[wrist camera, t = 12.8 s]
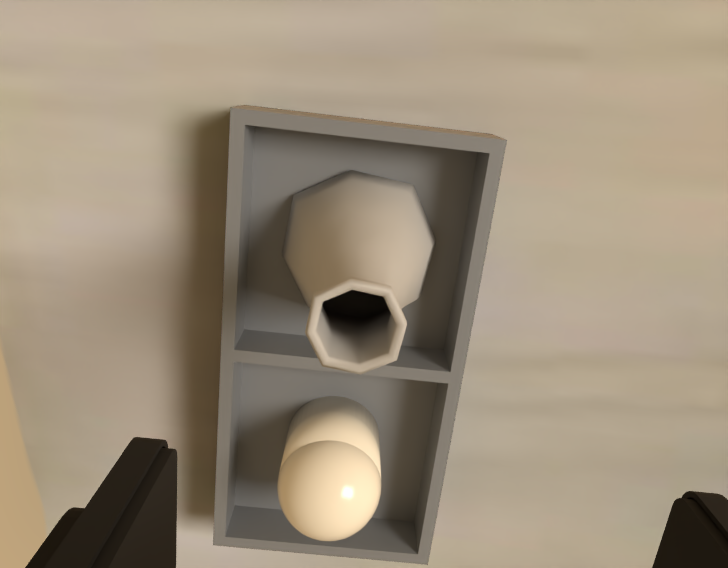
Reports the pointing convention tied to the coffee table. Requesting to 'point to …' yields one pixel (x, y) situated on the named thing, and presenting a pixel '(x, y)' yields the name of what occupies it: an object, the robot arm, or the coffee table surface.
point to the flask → (358, 265)
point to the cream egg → (330, 469)
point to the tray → (290, 315)
